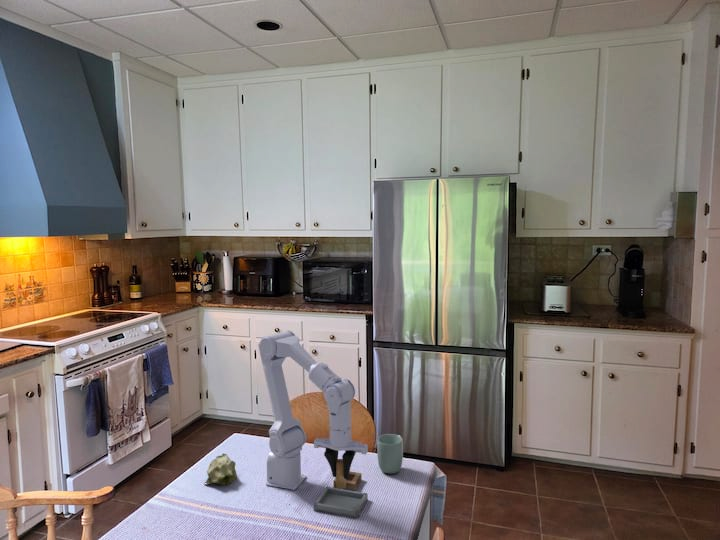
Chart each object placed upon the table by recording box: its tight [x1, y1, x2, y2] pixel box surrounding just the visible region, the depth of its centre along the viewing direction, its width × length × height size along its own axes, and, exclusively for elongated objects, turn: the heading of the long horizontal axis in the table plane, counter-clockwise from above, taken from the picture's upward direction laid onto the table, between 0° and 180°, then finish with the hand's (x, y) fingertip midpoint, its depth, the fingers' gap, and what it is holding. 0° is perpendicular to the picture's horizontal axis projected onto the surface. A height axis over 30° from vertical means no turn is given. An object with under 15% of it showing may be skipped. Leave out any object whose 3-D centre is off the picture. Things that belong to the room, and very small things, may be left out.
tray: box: [313, 486, 368, 519], centre depth 129 cm, size 12×9×2 cm
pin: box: [335, 458, 346, 490], centre depth 128 cm, size 3×3×7 cm
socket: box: [332, 471, 362, 491], centre depth 140 cm, size 6×6×2 cm
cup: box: [376, 433, 404, 475], centre depth 147 cm, size 8×8×10 cm
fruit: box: [204, 453, 238, 486], centre depth 142 cm, size 9×9×8 cm
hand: (341, 476), depth 128 cm, fingers closed on pin, 3 cm apart
